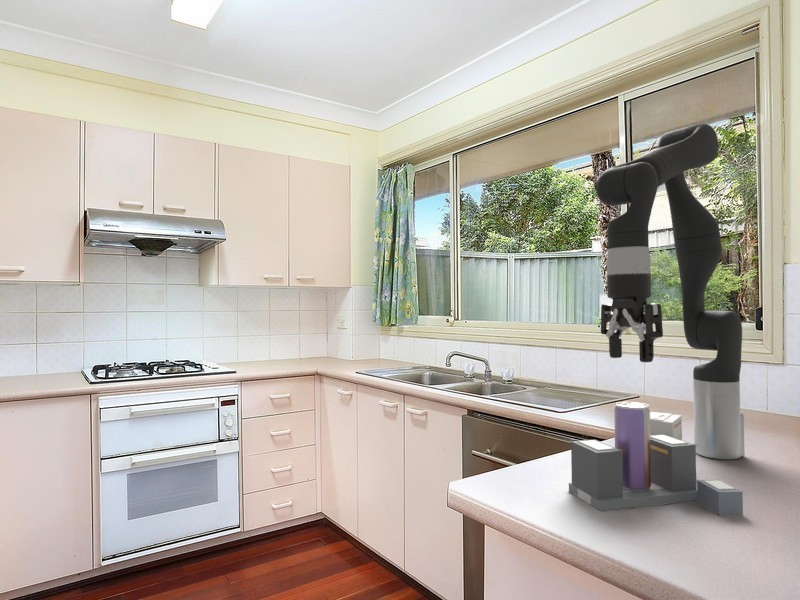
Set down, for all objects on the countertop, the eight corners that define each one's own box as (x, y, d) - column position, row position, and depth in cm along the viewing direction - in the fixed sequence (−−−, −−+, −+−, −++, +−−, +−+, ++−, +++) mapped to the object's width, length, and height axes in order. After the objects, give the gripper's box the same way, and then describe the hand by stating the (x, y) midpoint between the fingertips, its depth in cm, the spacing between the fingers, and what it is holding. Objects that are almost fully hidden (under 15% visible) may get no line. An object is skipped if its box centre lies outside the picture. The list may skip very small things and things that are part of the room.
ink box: (640, 463, 116) (640, 409, 116) (683, 470, 111) (683, 414, 111) (629, 472, 109) (628, 416, 110) (674, 481, 104) (673, 421, 104)
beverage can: (630, 494, 93) (629, 408, 93) (608, 483, 98) (607, 402, 99) (658, 490, 94) (657, 406, 94) (635, 480, 100) (634, 400, 100)
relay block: (697, 503, 93) (697, 478, 93) (719, 502, 93) (719, 478, 93) (719, 516, 87) (718, 490, 87) (743, 516, 87) (742, 490, 87)
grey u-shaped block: (660, 482, 103) (659, 432, 104) (700, 500, 94) (699, 445, 94) (568, 491, 99) (568, 438, 99) (601, 510, 89) (600, 453, 89)
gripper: (673, 270, 92) (676, 362, 92) (621, 274, 106) (623, 355, 106) (636, 270, 91) (639, 364, 90) (588, 275, 104) (590, 357, 104)
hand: (630, 359), depth 98 cm, fingers open, 8 cm apart
